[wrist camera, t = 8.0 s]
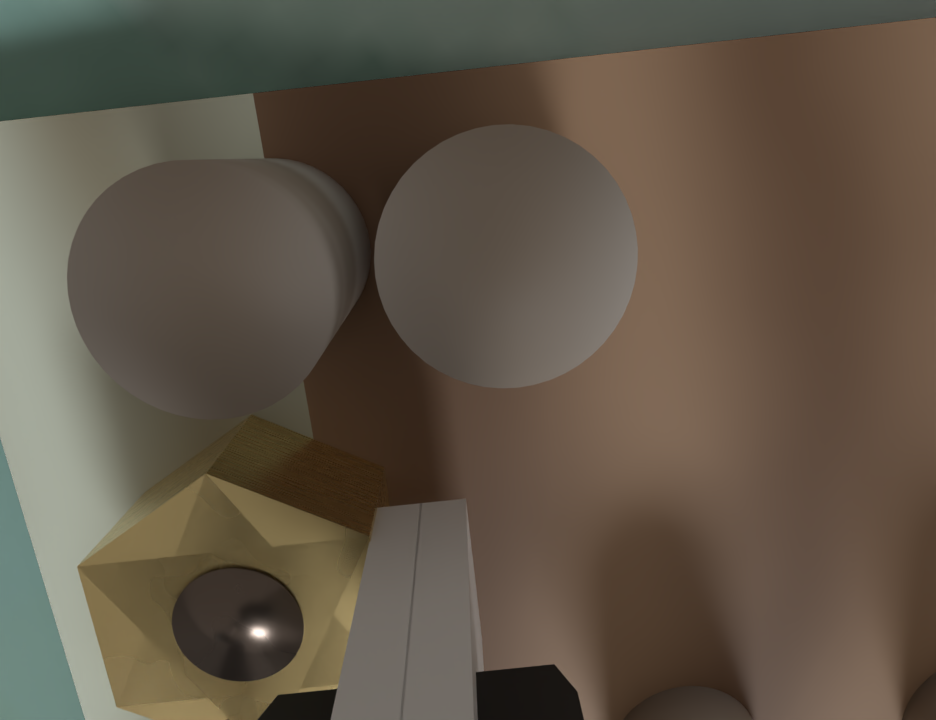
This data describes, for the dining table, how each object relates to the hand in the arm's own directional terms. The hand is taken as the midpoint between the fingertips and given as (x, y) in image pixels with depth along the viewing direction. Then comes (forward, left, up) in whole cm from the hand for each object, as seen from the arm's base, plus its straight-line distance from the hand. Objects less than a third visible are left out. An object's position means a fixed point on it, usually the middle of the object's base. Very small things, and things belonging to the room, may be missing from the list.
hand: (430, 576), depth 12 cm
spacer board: (+4, -1, -3) cm, 4 cm away
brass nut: (-3, 0, -1) cm, 3 cm away
